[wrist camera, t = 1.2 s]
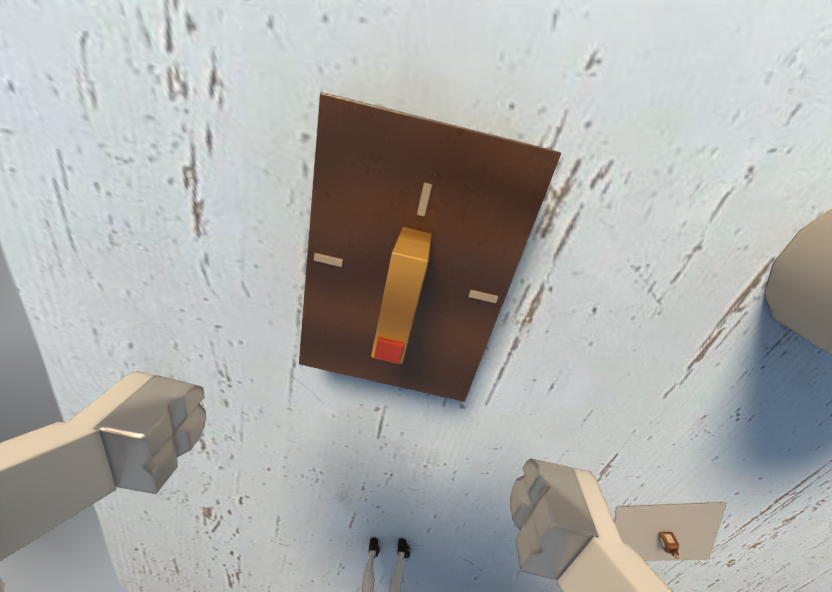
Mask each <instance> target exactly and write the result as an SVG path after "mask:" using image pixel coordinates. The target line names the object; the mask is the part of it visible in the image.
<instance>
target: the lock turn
mask: <svg viewBox="0 0 832 592" xmlns="http://www.w3.org/2000/svg"><path fill="white" fill-rule="evenodd" d="M431 238H432V234H431V233H426V232H422V231H418V230H414V229H410V228H406V227H403V228H402V230H401V232H400V235H399V237H398V239H397V242H396V244H395V247H394V249H393V251H392V254H391V259H390V264H389V269H388V274H387V279H386V284H385V289H384V294H383V299H382V304H381V309H380V314H379V319H378V324H377V329H376V334H375V339H374V344H373V349H372V354H371V356H372V358H375V359H379V360H383V361H388V362H392V363H396V364H402V363H403V359H404V355H405V351H406V347H407V344H408V340H409V336H410V332H411V328H412V324H413V320H414V316H415V312H416V308H417V304H418V301H419V297H420V293H421V289H422V285H423V281H424V277H425V273H426V269H427V265H428V261H429V253H430V246H431Z"/></svg>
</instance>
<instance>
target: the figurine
mask: <svg viewBox="0 0 832 592" xmlns="http://www.w3.org/2000/svg"><path fill="white" fill-rule="evenodd" d="M379 552H380V549H379V546H378V539H376V538H371V539H370V545H369V559H368V562H367V565H366V568H365V571H364V576H363V583H362V592H373V588H374V581H375V580H374V572H373V562H374V558H375V557H377V556H378V554H379ZM397 554H398V562H397V566H396V569H395V571H394V573H393V576H392V578H391V580H390V591H389V592H401V588H402V578H403V560H404V558H405V559H406V558H408V557H409V556H410V547H409V546H408V545H407V543H406V540H404V539H399V541H398V550H397Z"/></svg>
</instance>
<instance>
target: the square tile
mask: <svg viewBox="0 0 832 592" xmlns="http://www.w3.org/2000/svg"><path fill="white" fill-rule="evenodd" d="M726 504H727V503H703V504H677V505H652V506H626V507H617V508H616V519H615V524H616V527H617V529H618V531H619V534H620V536H621V538H622V541H623V543H625V544H629V545H631V546H632V547H633V549H634V550H635V551H636V552H637V553H638V554H639V555H640V556H641V557H642V558H643V559H644V561H659V560H709V559H710V556H711V553H712V549H713V546H714V543H715V540H716V536H717V533H718V530H719V527H720V523H721V520H722V517H723V514H724V510H725V507H726Z"/></svg>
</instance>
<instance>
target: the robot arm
mask: <svg viewBox="0 0 832 592" xmlns="http://www.w3.org/2000/svg"><path fill="white" fill-rule="evenodd" d="M204 398H205V397H204V390H203V387H201V386H198V385H194V384H190V383H186V382H182V381H178V380H174V379H170V378H166V377H162V376H157V375H153V374H149V373H144V372H140V371H136V372H133V373H130V374H128V375H127V376H125V377H124V378H123V379H121V380H120V381H119V382H118V383H116V384H115V385H114V386H113V387H111V388H110V389H109V390H107V391H106V392H105V393H104V394H102V395H101V396H100V397H99V398H97V399H96V400H95V401H94V402H92V403H91V404H90V405H88V406H87V407H86V408H85V409H83V410H82V411H81V412H80V413H78V414H77V415H76V416H74V417H73V418H72V419H71V420H69V421H68V422H67V423H65V422H56V423H54V424H51V425H49V426H46V427H43V428H40V429H37V430H35V431H32V432H29V433H26V434H24V435H21V436H18V437H15V438H13V439H10V440H7V441H5V442H2V443H0V561H2V560H3V559H5V558H6V557H8V556H10V555H11V554H13V553H15V552H16V551H18V550H19V549H21V548H22V547H24V546H26V545H28V544H29V543H31V542H32V541H34V540H36V539H37V538H39V537H40V536H42V535H44V534H45V533H47V532H49V531H50V530H52V529H53V528H55V527H57V526H58V525H60V524H61V523H63V522H65V521H66V520H68V519H70V518H71V517H73V516H74V515H76V514H78V513H79V512H81V511H82V510H84V509H86V508H87V507H89V506H91V505H92V504H94V503H95V502H97V501H99V500H100V499H102V498H103V497H105V496H107V495H108V494H110V493H112V492H113V491H115V490H116V487H119V488H125V489H130V490H136V491H141V492H147V493H152V494H157V493H158V491H159V490H160V489H161V487H162V486H163V485H164V484H165V482H166V481H167V480H168V479H169V477H170V476H171V475H172V473H173V472H174V471H175V470H176V468H177V467H178V457H179V456H181V455H182V454H184V453H186V452H188V451H190V450H191V449H192V448H193V446H194V445H195V444H196V442H197V441H198V440H199V438H200V436H201V434H202V431H203V429H204V427H205V422H206V411H205V409H204V408H203V407H202V406H201V405H200V402H201V401H202V400H203V399H204ZM523 471H524V476H522V477H520V478H518V479H516V481H515V483H514V485H513V487H512V492H511V497H510V509H511V516H512V520H513V522H514V523H515V524H516V526H517V527H518V529H519V530H520V532H519V533H518V535H517V537H516V539H515V540H516V546H517V552H518V558H519V564H520V569H521V572H525V573H530V574H534V575H538V576H542V577H546V578H550V579H554V580H558V581H557V584H558V586H559V587H560V589H561V591H562V592H673V591H672V590H671V589H670V588H669V587H668V586H667V584H666V583H665V582H664V581H663V580H662V579H661V578H660V577H659V576H658V575H657V574H656V573H655V571H654V570H653V569H652V568H651V567H650V566H649V565H648V564H647V563H646V562H645V561H644V559H643V558H642V557H641V556H640V555H639V554H638V553H637V552H636V551H635V550H634V549H633V547H632V546H631V545H629V544H625V543H623V541H622V538H621V536H620V534H619V531H618V529H617V527H616V524H615V522H614V520H613V517H612V515H611V513H610V510H609V508H608V506H607V503H606V501H605V499H604V496H603V494H602V491H601V489H600V487H599V484H598V482H597V480H596V478H595V476H594V475H593V474H592V472H590V471H586V470H581V469H577V468H572V467H568V466H564V465H559V464H554V463H550V462H545V461H540V460H535V459H529V460H528V461H526V463H525V465H524V466H523ZM4 586H5V584H4V582H3V581H2V579H1V578H0V592H4Z"/></svg>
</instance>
